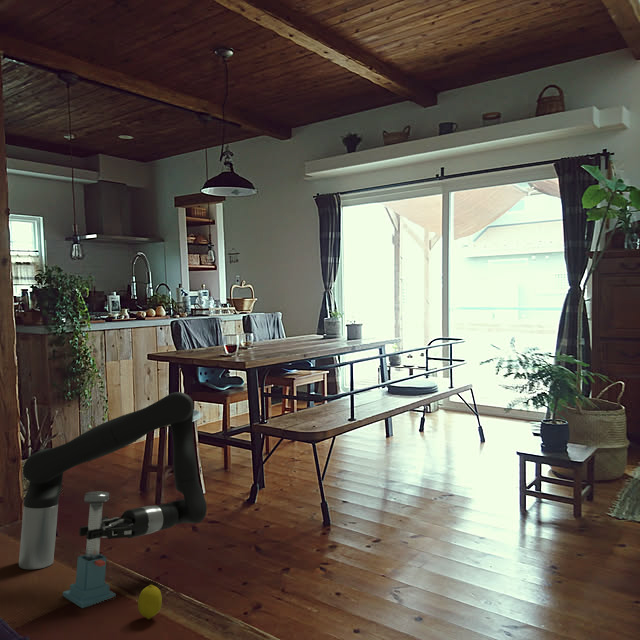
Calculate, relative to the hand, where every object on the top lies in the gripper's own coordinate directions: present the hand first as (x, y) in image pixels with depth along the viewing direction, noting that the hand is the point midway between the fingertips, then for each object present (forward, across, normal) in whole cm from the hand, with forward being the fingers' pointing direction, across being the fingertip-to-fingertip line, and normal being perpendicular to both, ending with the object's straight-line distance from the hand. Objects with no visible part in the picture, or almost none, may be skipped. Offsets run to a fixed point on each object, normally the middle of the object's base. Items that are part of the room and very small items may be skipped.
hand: (83, 533), depth 145 cm
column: (-3, 0, +15) cm, 15 cm away
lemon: (-7, +21, +17) cm, 28 cm away
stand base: (-3, 0, +17) cm, 17 cm away
